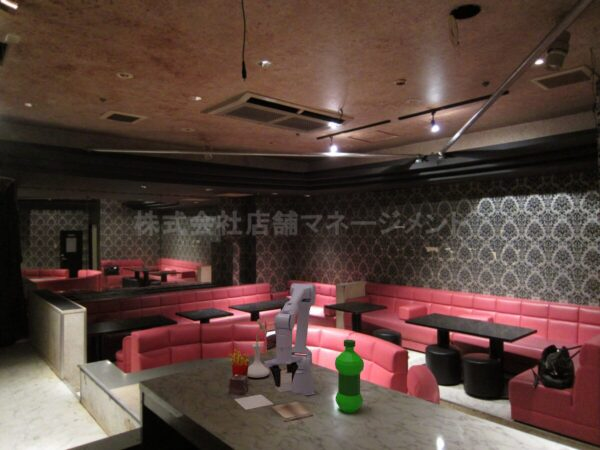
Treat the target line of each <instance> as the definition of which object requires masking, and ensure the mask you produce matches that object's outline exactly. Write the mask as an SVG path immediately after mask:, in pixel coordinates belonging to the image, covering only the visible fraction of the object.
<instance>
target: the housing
mask: <svg viewBox="0 0 600 450" xmlns="http://www.w3.org/2000/svg"><path fill="white" fill-rule="evenodd" d="M274 389H275V390H277V391H279V392H280V393H281V392H287V391H290V390H292V373H291V372H289V371H287V369H283V370H282V369H281V373H280V386H279V387H277V386H275V385H274Z"/></svg>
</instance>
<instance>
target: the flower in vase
mask: <svg viewBox="0 0 600 450" xmlns="http://www.w3.org/2000/svg"><path fill="white" fill-rule="evenodd" d="M257 325H258V326H259V328H258V331H256V335H255V339H256V340H255V343H254V344H252V345H251V347H252V348H253V350H254V361H253V362H252V363H251V364H249V365H248V375H247V376H249V377H250V378H258V379H260V378H264V377H267V376H268V375H269V374H270V368H266V367H264V365H265V364H263V363H262V361H261V350H262V347H264V344H262V343H258V342H260V341H261V339H262V338H258V334H259V332H260V330H261V331H262V332H263V334H265V335H267V334H268V332H267V329H266V328H265V324H263V322H262V320H260V319H257ZM249 377H248V378H249Z"/></svg>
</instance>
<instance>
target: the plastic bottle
mask: <svg viewBox="0 0 600 450" xmlns="http://www.w3.org/2000/svg"><path fill="white" fill-rule="evenodd" d="M343 346H344V350H343V351H342V352H340V354H338V356H336V358H335V360H334V367H335V369H336V370H337V372H338V373H337V375H338V377H337V378H338V381H337V382H338V383H337V384H338V386H337V393H336V395H335V402H336V403H335V404H336V405H337V406H338V407H339V409H340V410H341V411H342V412H344V413H346V414H353V412H354V413H356V411H358V410H359V409H360V408H361V406H362V405H363V402H364V401H363V396H362V394H361V373H362V372H363V371H364V367H365V362H364V359H363V357H362V356H361V355H359V354H358V353H357V352H356V351H355V347H356V340H354V339H344V340H343Z"/></svg>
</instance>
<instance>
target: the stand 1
mask: <svg viewBox="0 0 600 450" xmlns="http://www.w3.org/2000/svg"><path fill="white" fill-rule="evenodd" d="M234 401H235V402H237V403H238V404H239V405H240V406H241V407H242V408H244V410H250V409H251V410H252V409H255V408H261V407H266V406H272V405H274V403H273V402H271V401H270V400H269V399H268V398H266V397H265V396H264V395H262V394H255V395H250V396H246V397H239V398H234Z"/></svg>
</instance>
